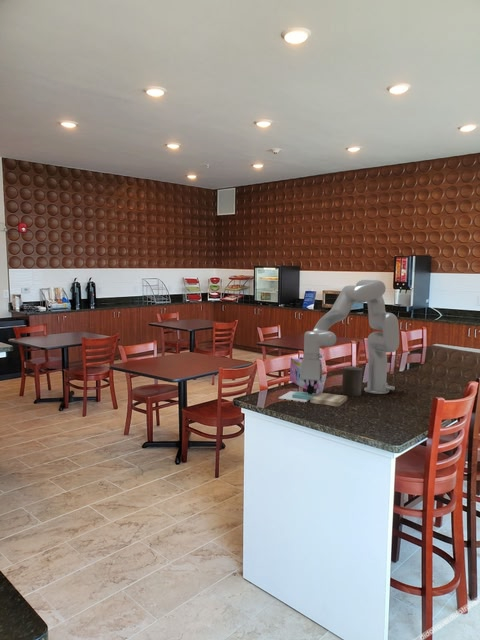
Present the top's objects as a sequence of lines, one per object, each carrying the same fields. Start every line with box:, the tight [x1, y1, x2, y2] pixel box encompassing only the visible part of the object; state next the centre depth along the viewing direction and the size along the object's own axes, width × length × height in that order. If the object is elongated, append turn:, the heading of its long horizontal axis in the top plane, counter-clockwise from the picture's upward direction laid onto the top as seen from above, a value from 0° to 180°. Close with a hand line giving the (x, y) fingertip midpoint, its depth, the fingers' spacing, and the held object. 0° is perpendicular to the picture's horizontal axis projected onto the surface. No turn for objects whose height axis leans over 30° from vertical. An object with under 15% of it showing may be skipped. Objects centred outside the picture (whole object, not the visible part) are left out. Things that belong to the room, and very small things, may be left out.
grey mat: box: [278, 390, 310, 403], centre depth 242 cm, size 14×16×1 cm
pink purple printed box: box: [289, 356, 320, 390], centre depth 270 cm, size 24×8×14 cm, turn 17°
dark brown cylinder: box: [341, 365, 363, 397], centre depth 249 cm, size 10×10×15 cm
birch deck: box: [309, 392, 348, 407], centre depth 234 cm, size 14×14×2 cm
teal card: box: [292, 391, 317, 401], centre depth 239 cm, size 10×8×2 cm
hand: (310, 393), depth 238 cm, fingers closed
